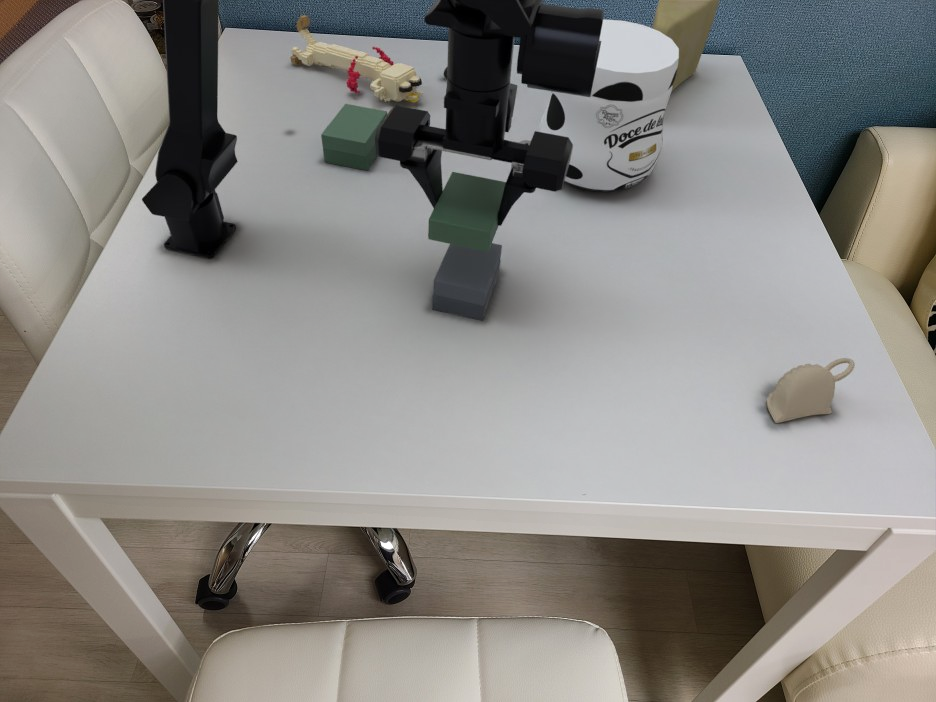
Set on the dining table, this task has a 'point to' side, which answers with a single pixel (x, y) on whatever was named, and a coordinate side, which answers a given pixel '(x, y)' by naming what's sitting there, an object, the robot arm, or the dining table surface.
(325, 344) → the dining table surface
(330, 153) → the sage stack
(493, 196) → the sage block
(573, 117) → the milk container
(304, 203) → the dining table surface
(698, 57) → the cheese
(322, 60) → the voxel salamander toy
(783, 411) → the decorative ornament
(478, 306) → the grey stack
